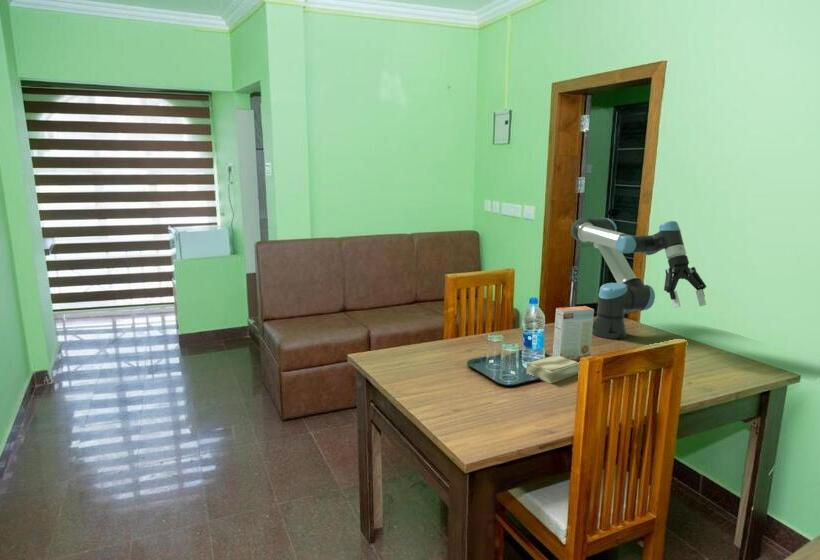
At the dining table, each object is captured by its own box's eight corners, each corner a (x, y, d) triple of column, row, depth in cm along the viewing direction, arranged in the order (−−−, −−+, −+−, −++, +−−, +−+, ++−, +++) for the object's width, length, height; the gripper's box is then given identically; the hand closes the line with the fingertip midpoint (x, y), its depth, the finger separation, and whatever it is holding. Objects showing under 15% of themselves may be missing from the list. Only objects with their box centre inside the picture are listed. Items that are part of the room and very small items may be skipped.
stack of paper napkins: (526, 373, 199) (526, 362, 198) (555, 364, 209) (556, 354, 208) (550, 383, 190) (551, 371, 189) (579, 373, 201) (580, 362, 200)
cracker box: (580, 355, 221) (585, 305, 217) (590, 360, 215) (595, 309, 211) (551, 358, 216) (555, 307, 212) (559, 363, 211) (564, 311, 207)
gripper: (660, 254, 221) (673, 305, 215) (706, 253, 229) (720, 302, 224) (647, 260, 227) (659, 310, 222) (692, 259, 236) (706, 306, 230)
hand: (690, 306), depth 223 cm, fingers open, 13 cm apart
